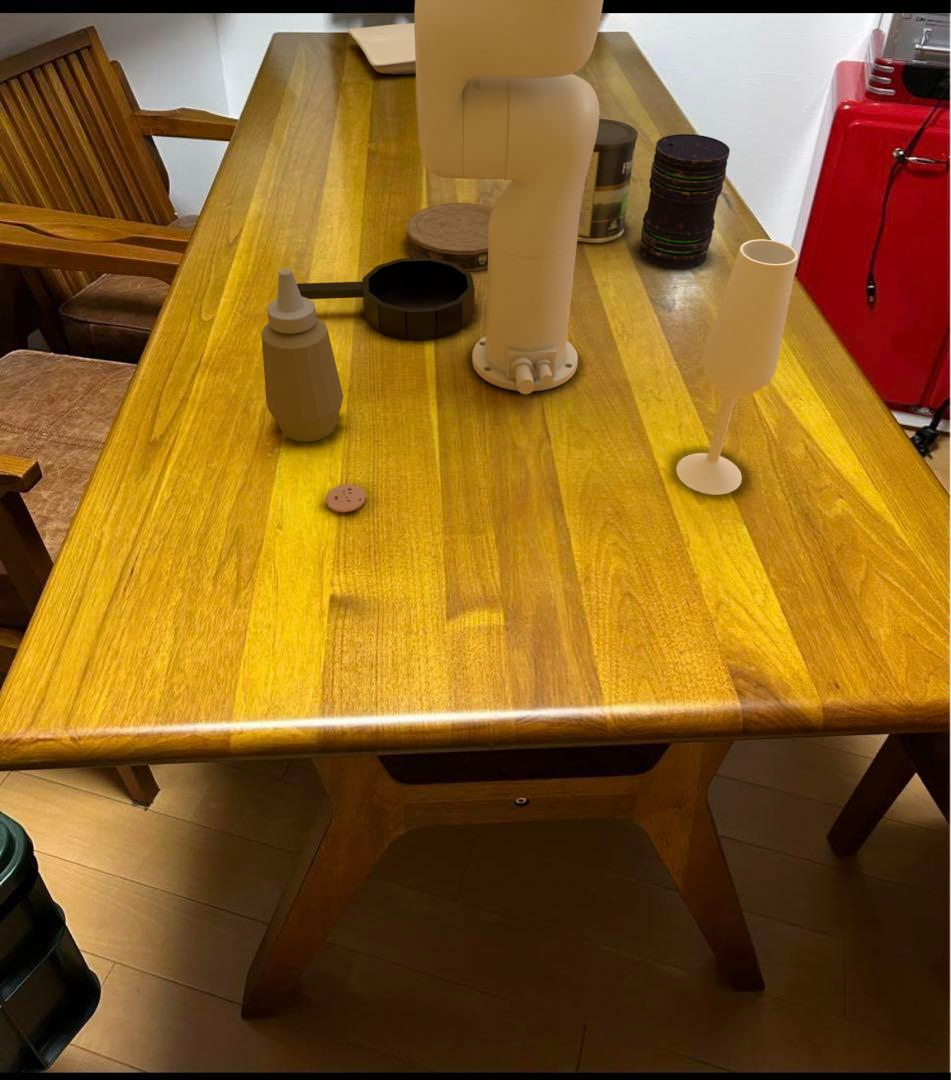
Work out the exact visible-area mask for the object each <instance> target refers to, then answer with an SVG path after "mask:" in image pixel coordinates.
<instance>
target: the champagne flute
mask: <svg viewBox="0 0 951 1080" xmlns="http://www.w3.org/2000/svg"><path fill="white" fill-rule="evenodd" d="M798 258H799V253H798V252H797V250H796V249H794V248H793V247H792V246H790V245H789V244H787V243H785V242H781V241H777V240H772V239H764V238H762V239H761V238H760V239H759V238H758V239H757V238H756V239H751V240H747V241H745V242H743V243H742V244H741V245H740V247H739V249H738V252H737V255H736V259H735V260H734V264H733V267H732V269H731V271H730V275H729V278H728V281H727V284H726V286H725V289H724V293H723V296H722V298H721V301H720V304H719V307H718V310H717V312H716V316H715V318H714V321H713V324H712V327H711V330H710V333H709V336H708V338H707V341H706V344H705V347H704V350H703V353H702V356H701V364H700V365H701V369H702V372H703V374H704V376H705V378H706V380H707V382H708V383H709V384H710V385H711V387H713V389H714V390H715V391H716V392H717V393H718V394H719V395H720V396H722V400H721V403H720V407H719V411H718V414H717V419H716V422H715V425H714V430H713V434H712V437H711V441H710V445H709V449H708V452H707V453H706V452H697V453H691V454H689V455H686V456H684V457H682V458H681V459H680V460H679V461H678V463H677V465H676V469H675V470H676V471H675V472H676V475H677V478H678V479H679V480H680V481H681V483H682V484H684V485H685V486H686V487H688V488H689V489H691V490H693V491H695V492H699V493H701V494H705V495H713V496H717V495H725V494H730V493H731V492H734V491H735V490H737V489H738V488H739V487H740V485H741V484H742V481H743V480H742V479H743V476H742V472H741V470H740V469H739V467H738V466H737V465H736V464H735V463H733V462H732V461H731V460H729V459H728V458H725V457H724V456H721V453H722V449H723V446H724V443H725V439H726V436H727V431H728V429H729V424H730V421H731V416H732V414H733V410H734V407H735V403H736V400H738V399H742V398H744V397H747V396H750V395H753V394H755V393H757V392H759V391H761V390H762V389H763V388H765V387H766V386H767V385H768V384H769V383H770V382H771V381H772V380H773V379H774V377H775V374H776V371H777V368H778V367H777V366H778V361H779V356H780V352H781V346H782V341H783V335H784V330H785V325H786V320H787V315H788V310H789V306H790V300H791V296H792V295H791V294H792V289H793V284H794V280H795V274H796V269H797V264H798Z"/></svg>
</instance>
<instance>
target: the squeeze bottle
mask: <svg viewBox="0 0 951 1080" xmlns="http://www.w3.org/2000/svg"><path fill="white" fill-rule="evenodd" d="M277 282H278V283H277V296H276V297H277V298H276V299H274V300H273V301H271V302H270V303H268V306H267V307H266V313H267V320H268V323H266V324H265V325H264V327H263V329H262V331H261V333H260V334H261V347H262V348H261V349H262V362H263V375H264V377H263V378H264V389H265V401H266V405H267V410H268V411H269V414H270V415H271V416H272V418H273V419H274V421H275V422H276V424H277V426H278V427H279V429H280V431H281V432H282V433H283V434H284V435H285V436H286V438H288V439H291V440H293V441H296V442H304V443H305V442H306V443H308V442H309V443H310V442H314V441H319V440H321V439H324V438H326V437H328V436H329V435H331V434H332V433H333V432H334V431H335V428H336V426H337V422H338V419H339V415H340V411H341V408H342V404H343V401H344V393H343V389H342V385H341V380H340V376H339V372H338V367H337V364H336V363H337V362H336V360H335V355H334V352H333V351H334V350H333V347H332V342H331V337H330V334H329V329H328V327H327V324H326V322H324V321H323V320H321V319H320V318H318V317H317V311H316V306H315V302H314V301H312V299H308V298H305V297H302V296H301V294H300V292H299V289H298V286H297V284H298V283H297V282H296V279H295V276H294V274H293V271H292V270H291V269H289V268H282V269H280V270H279V271H278V281H277Z"/></svg>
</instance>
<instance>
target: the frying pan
mask: <svg viewBox="0 0 951 1080" xmlns="http://www.w3.org/2000/svg"><path fill="white" fill-rule="evenodd" d="M296 284H297V286H298V289H299V292H300V294H301V296H302V297H305V298H308V299H310V300H331V299H332V300H333V299H356V298H357V299H358V298H362V302H363V314H364V318H365V320H366V322H367V323H368V324H369V326H371V328H372V329H374V330H375V331H377V332H379V333H380V334H383V335H385V336H388V337H391V338H395V339H400V340H406V341H429V340H437V339H442V338H445V337H449V336H452V335H454V334H457V332H459V331H461V330H463V329H464V328H465V327H467V325H469V323H470V322H471V321H472V318H473V315H474V314H475V284H474V279H473V274H471V273H470V271H466V270H464V269H463V268H461V267H460V266H458V265H457V264H454V263H452V262H447V261H443V260H439V259H434V258H413V257H403V258H396V259H394V260H391V261H387V262H384V263H381V264H378V265H376V266H375V267H374V268H372V269H371V270H370V271H369V272H368V273H367V274H366V275H365V276H363V277H362V281H361V280H360V281H338V282H337V281H334V282H333V281H332V282H302V283H300V282H299V283H296Z"/></svg>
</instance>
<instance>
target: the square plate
mask: <svg viewBox="0 0 951 1080" xmlns="http://www.w3.org/2000/svg"><path fill="white" fill-rule="evenodd" d="M414 23H415V22H412V23H397V24H385V25H375V26H366V27H365V26H364V27H357V28H349V29H347V32H348V34H349V35H350V36H351V38H352V39H353V40H354V42H355V43H356V45H357V46H358V47H359V48H360V49H361V50H362V52H363V53H364V55H365V57H366V59H367V61H368V62H369V64H370V65H371V66H372V68H373V69H374V71H376V72H377V73H380V74H389V75H414V74H415V75H416V61H415V32H414Z"/></svg>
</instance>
